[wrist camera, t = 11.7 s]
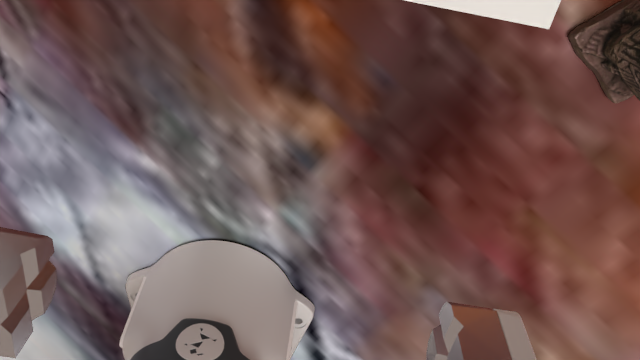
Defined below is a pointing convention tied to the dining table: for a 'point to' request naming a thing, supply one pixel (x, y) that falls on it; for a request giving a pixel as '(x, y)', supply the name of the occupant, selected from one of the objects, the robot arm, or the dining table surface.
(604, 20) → the statue
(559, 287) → the dining table surface
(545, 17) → the frame
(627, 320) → the dining table surface
